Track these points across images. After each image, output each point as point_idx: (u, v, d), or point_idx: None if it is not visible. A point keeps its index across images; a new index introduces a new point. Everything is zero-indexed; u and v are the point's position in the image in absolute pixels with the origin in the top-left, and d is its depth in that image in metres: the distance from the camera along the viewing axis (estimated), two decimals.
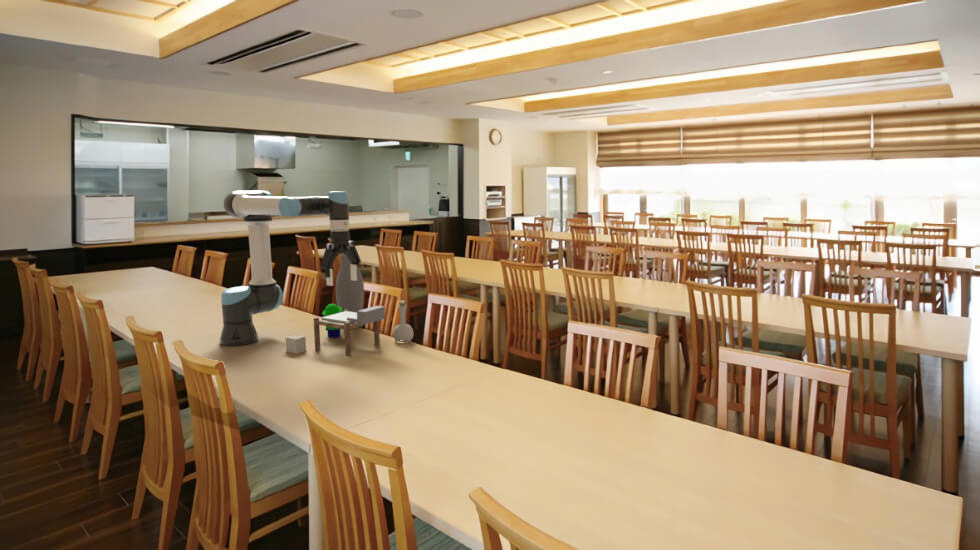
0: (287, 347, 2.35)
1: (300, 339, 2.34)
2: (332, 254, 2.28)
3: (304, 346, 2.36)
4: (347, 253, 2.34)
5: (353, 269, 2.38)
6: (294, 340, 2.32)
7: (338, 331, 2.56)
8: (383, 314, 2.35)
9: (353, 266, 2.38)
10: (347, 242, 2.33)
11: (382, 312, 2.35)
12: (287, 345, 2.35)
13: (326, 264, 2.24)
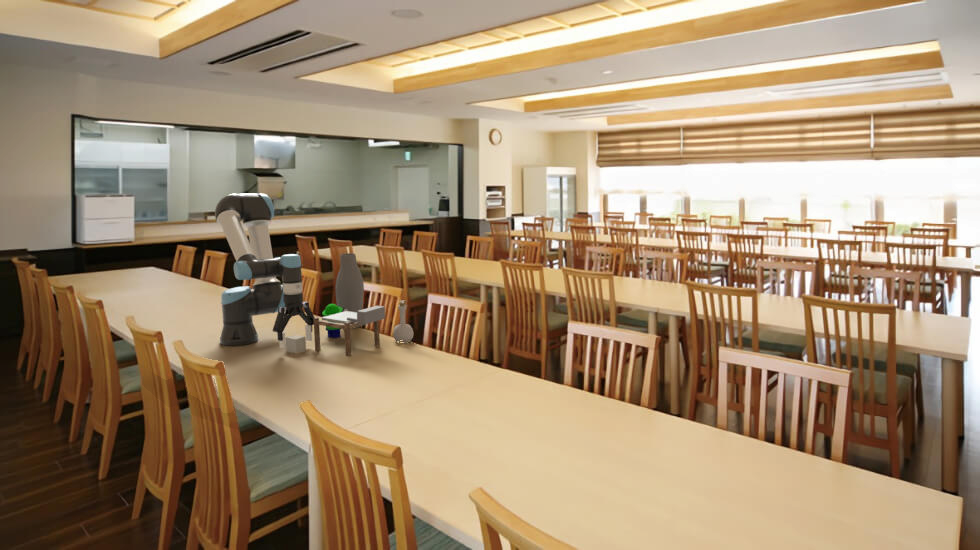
0: (287, 347, 2.35)
1: (300, 339, 2.34)
2: (285, 317, 2.30)
3: (304, 346, 2.36)
4: (301, 314, 2.36)
5: (308, 329, 2.40)
6: (294, 340, 2.32)
7: (338, 331, 2.56)
8: (383, 314, 2.35)
9: (308, 326, 2.40)
10: (301, 304, 2.35)
11: (382, 312, 2.35)
12: (287, 345, 2.35)
13: (278, 328, 2.26)
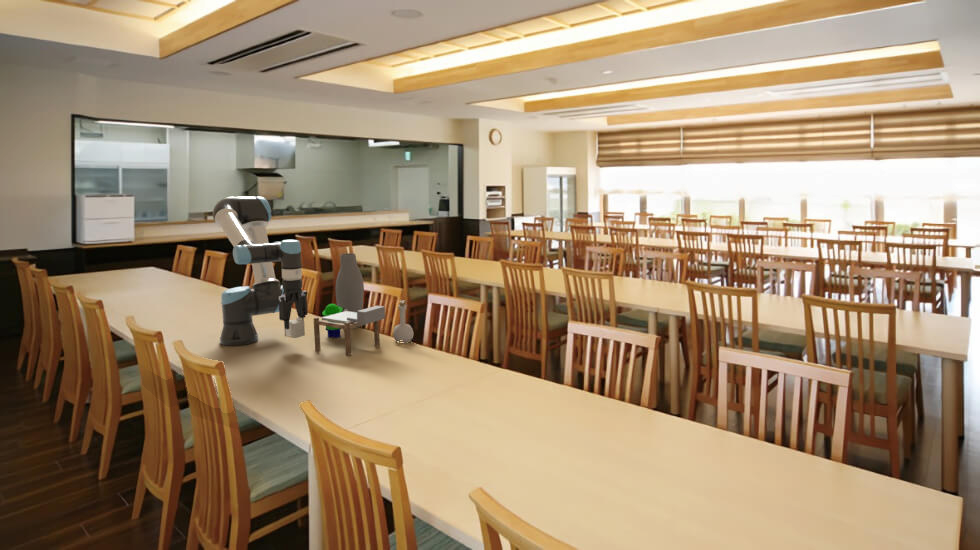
0: None
1: (299, 324, 2.33)
2: (287, 305, 2.31)
3: (303, 331, 2.36)
4: (297, 302, 2.35)
5: None
6: (293, 325, 2.32)
7: (338, 331, 2.56)
8: (383, 314, 2.35)
9: (299, 319, 2.37)
10: (300, 289, 2.35)
11: (382, 312, 2.35)
12: None
13: (284, 317, 2.29)
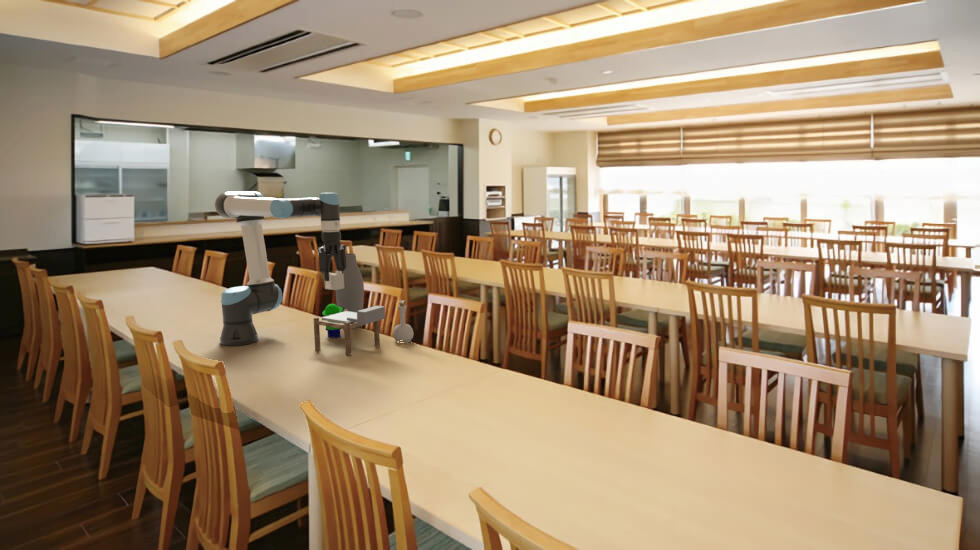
0: None
1: (338, 276, 2.35)
2: (326, 257, 2.33)
3: (343, 283, 2.37)
4: (336, 255, 2.37)
5: None
6: (333, 276, 2.34)
7: (338, 331, 2.56)
8: (383, 314, 2.35)
9: (338, 272, 2.39)
10: (339, 242, 2.37)
11: (382, 312, 2.35)
12: None
13: (324, 268, 2.31)
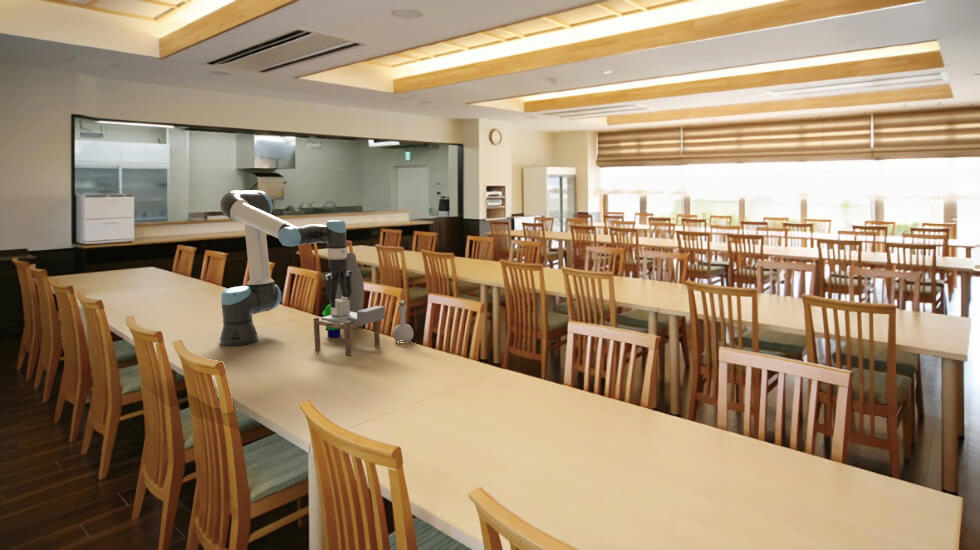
0: None
1: (344, 302, 2.38)
2: (333, 283, 2.36)
3: (348, 309, 2.40)
4: (342, 281, 2.40)
5: None
6: (339, 303, 2.36)
7: (338, 331, 2.56)
8: (383, 314, 2.35)
9: (344, 298, 2.42)
10: (345, 269, 2.40)
11: (382, 312, 2.35)
12: None
13: (331, 295, 2.34)
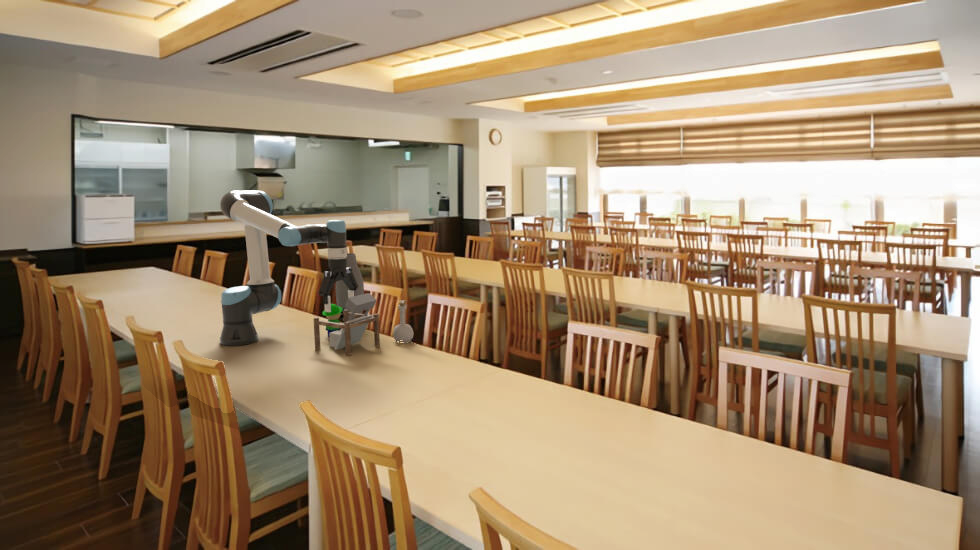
0: None
1: (334, 331, 2.43)
2: (330, 281, 2.35)
3: None
4: (345, 280, 2.41)
5: (351, 295, 2.45)
6: (330, 334, 2.42)
7: None
8: (372, 297, 2.37)
9: (351, 292, 2.45)
10: (345, 269, 2.40)
11: (370, 296, 2.37)
12: (335, 345, 2.41)
13: (324, 291, 2.30)
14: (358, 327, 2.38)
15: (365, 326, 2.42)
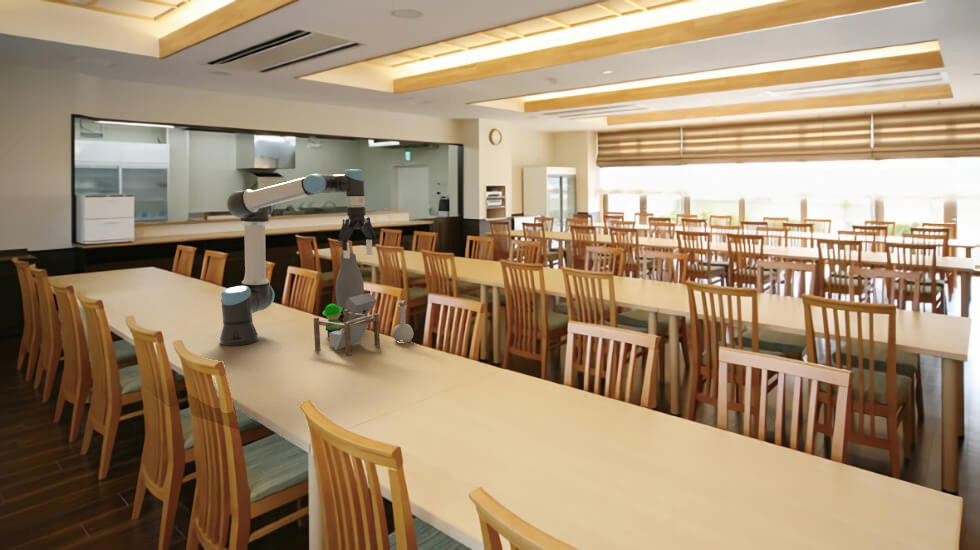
0: None
1: (334, 331, 2.43)
2: (349, 229, 2.42)
3: None
4: (363, 228, 2.48)
5: (369, 244, 2.52)
6: (330, 334, 2.42)
7: None
8: (372, 297, 2.37)
9: (369, 241, 2.52)
10: (363, 218, 2.47)
11: (370, 296, 2.37)
12: (335, 345, 2.41)
13: (343, 238, 2.38)
14: (358, 327, 2.38)
15: (365, 326, 2.42)
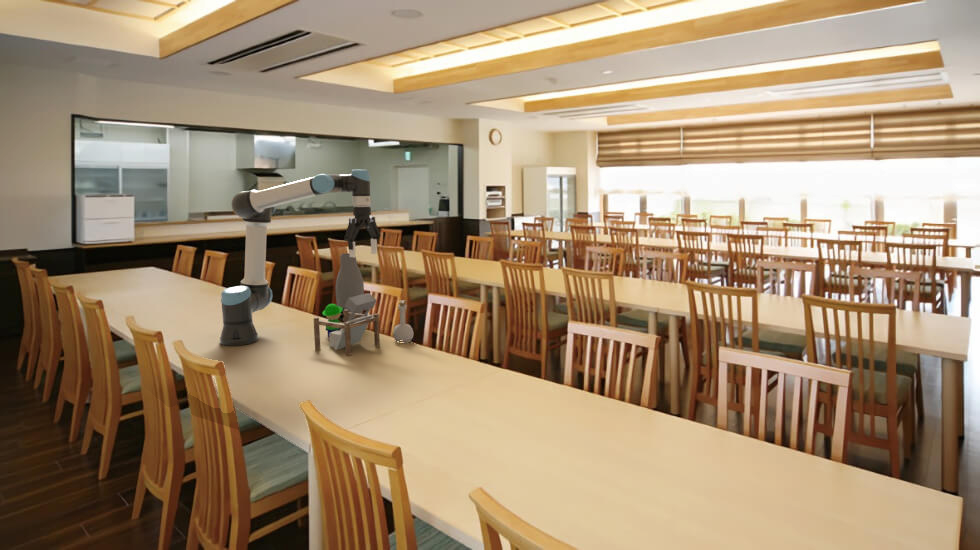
0: None
1: (334, 331, 2.43)
2: (355, 228, 2.45)
3: None
4: (368, 228, 2.52)
5: (373, 243, 2.56)
6: (330, 334, 2.42)
7: None
8: (372, 297, 2.37)
9: (373, 240, 2.55)
10: (368, 217, 2.50)
11: (370, 296, 2.37)
12: (335, 345, 2.41)
13: (349, 237, 2.41)
14: (358, 327, 2.38)
15: (365, 326, 2.42)
